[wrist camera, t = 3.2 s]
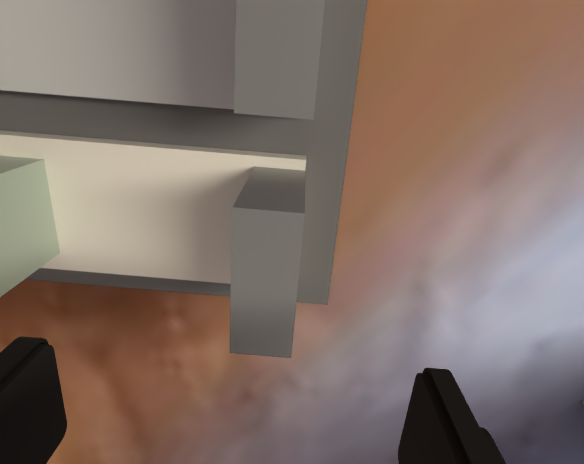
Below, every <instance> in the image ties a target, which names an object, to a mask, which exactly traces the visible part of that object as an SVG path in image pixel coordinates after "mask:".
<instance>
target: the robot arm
mask: <svg viewBox="0 0 584 464" xmlns="http://www.w3.org/2000/svg"><path fill="white" fill-rule="evenodd" d="M66 429H67V420H66V415H65V409H64V403H63V398H62V392H61V386H60V381H59V375H58V369H57V364H56V358H55V352H54V348H53V346H52V345H49V344H48V341H47V340H46V339H44V338H33V337H18V338H17V339H15V340H14V341H13V342H12V343H11V344H10V345H8V346H7V347H6V348H5V349H4V350H3V351H2V352H1V353H0V464H46V463H47V462H48V460H49V459H50V457H51V456H52V454H53V453H54V451H55V450H56V448H57V447H58V445H59V444H60V442H61V441H62V439H63V437H64V435H65V432H66ZM398 460H399V464H506V463H505V461H504V459H503V457H502V455H501V453H500V452H499V450H498V448H497V446H496V444H495V442H494V440H493V438H492V437H491V435H490V434H489V432H488V431H487V430H486V429H484V428H481V427H479V425H478V423H477V421H476V420H475V418H474V416H473V414H472V412H471V410H470V408H469V406H468V404H467V402H466V400H465V398H464V396H463V394H462V392H461V391H460V389H459V387H458V385H457V383H456V381H455V379H454V377H453V375H452V373H451V372H450V371H449V370H448V369H435V368H425V369H424V371H423V373H418V374H417V375H416V378H415V382H414V386H413V390H412V395H411V399H410V403H409V407H408V411H407V415H406V419H405V423H404V428H403V432H402V436H401V440H400V444H399V449H398Z"/></svg>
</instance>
